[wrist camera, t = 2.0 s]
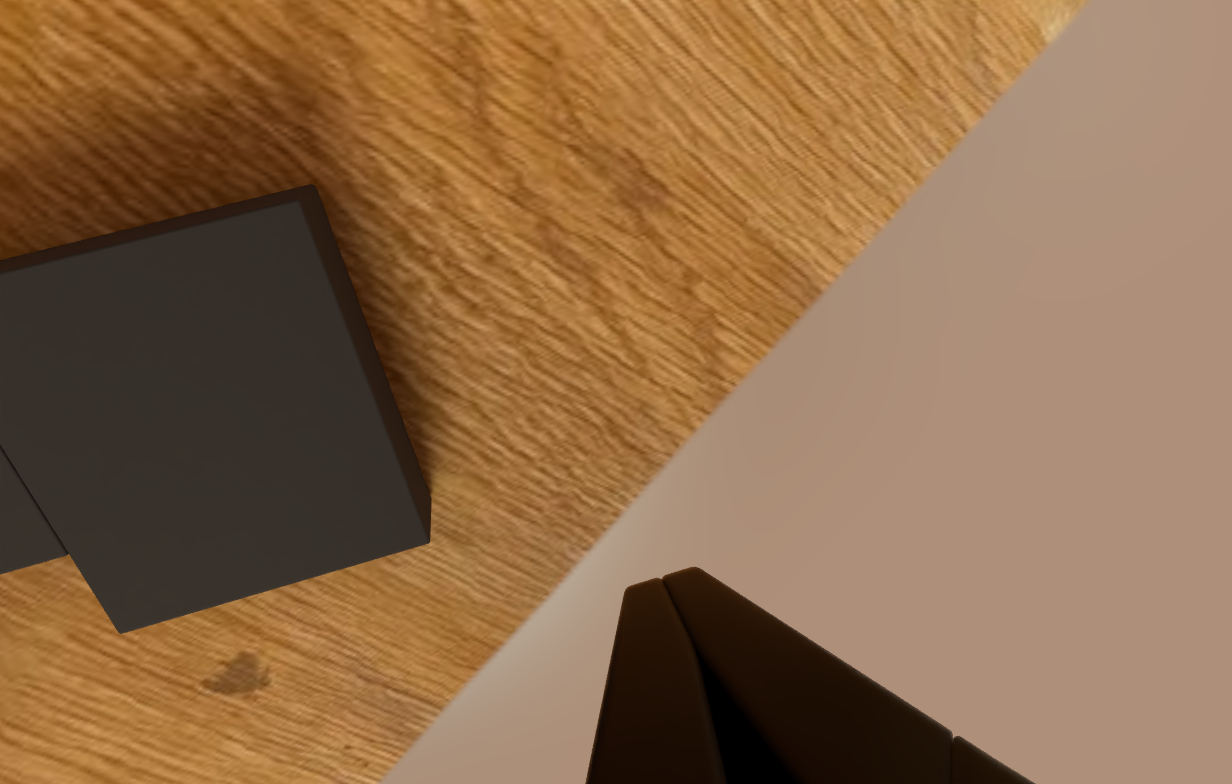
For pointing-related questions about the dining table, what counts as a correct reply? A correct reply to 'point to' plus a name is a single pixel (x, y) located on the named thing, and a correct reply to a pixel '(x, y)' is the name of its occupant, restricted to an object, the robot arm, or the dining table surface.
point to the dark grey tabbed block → (199, 412)
